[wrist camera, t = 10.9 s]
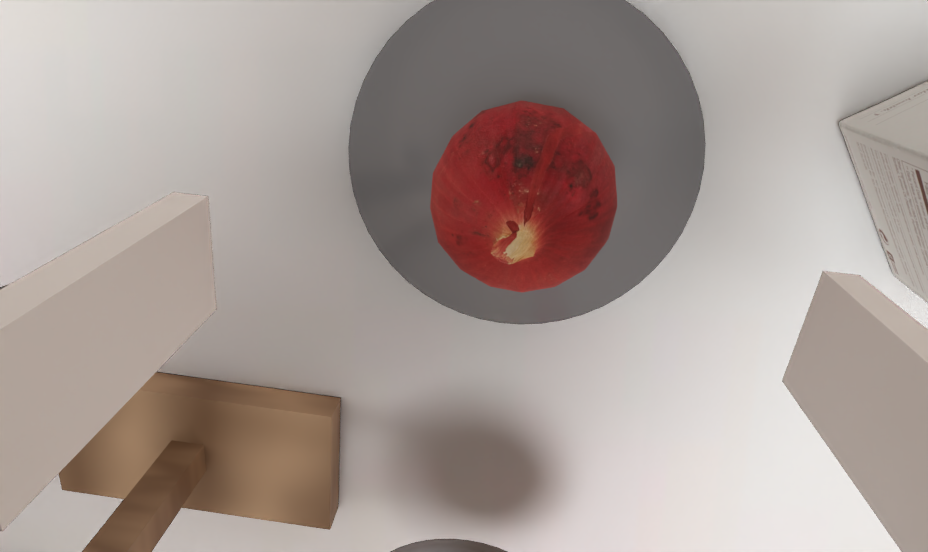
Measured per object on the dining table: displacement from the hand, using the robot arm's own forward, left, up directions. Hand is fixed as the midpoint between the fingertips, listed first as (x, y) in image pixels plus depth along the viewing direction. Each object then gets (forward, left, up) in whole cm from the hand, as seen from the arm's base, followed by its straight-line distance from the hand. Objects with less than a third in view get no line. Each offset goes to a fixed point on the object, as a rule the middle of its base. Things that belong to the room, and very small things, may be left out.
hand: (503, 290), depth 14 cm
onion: (0, 0, -11) cm, 11 cm away
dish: (0, 0, -12) cm, 12 cm away
